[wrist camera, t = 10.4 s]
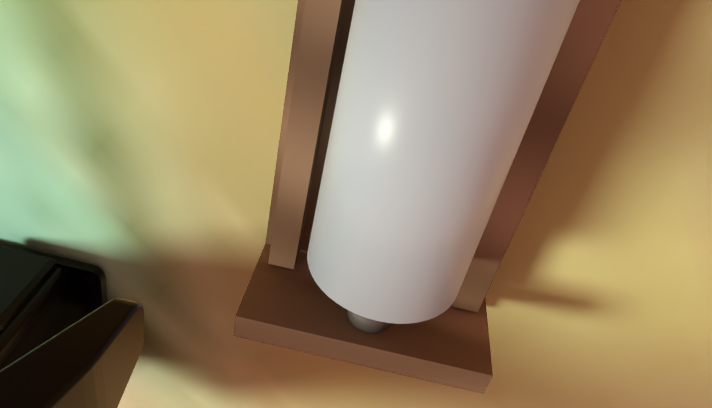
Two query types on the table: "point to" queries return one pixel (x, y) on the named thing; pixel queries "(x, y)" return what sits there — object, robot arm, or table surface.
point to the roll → (425, 145)
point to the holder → (300, 194)
